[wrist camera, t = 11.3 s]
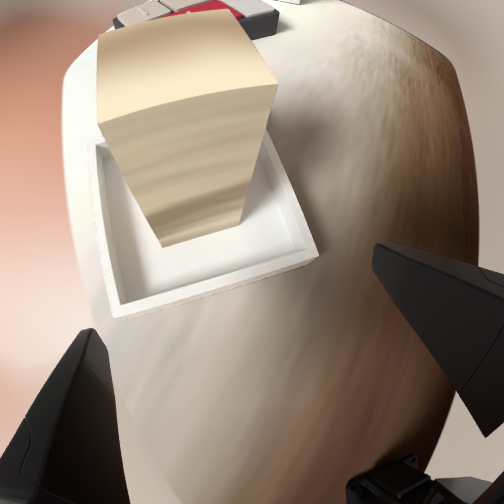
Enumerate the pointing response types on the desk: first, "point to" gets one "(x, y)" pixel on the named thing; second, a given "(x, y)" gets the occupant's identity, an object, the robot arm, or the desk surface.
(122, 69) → the birch block
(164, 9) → the calculator
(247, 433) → the desk surface
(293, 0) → the skincare box
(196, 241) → the white tray
